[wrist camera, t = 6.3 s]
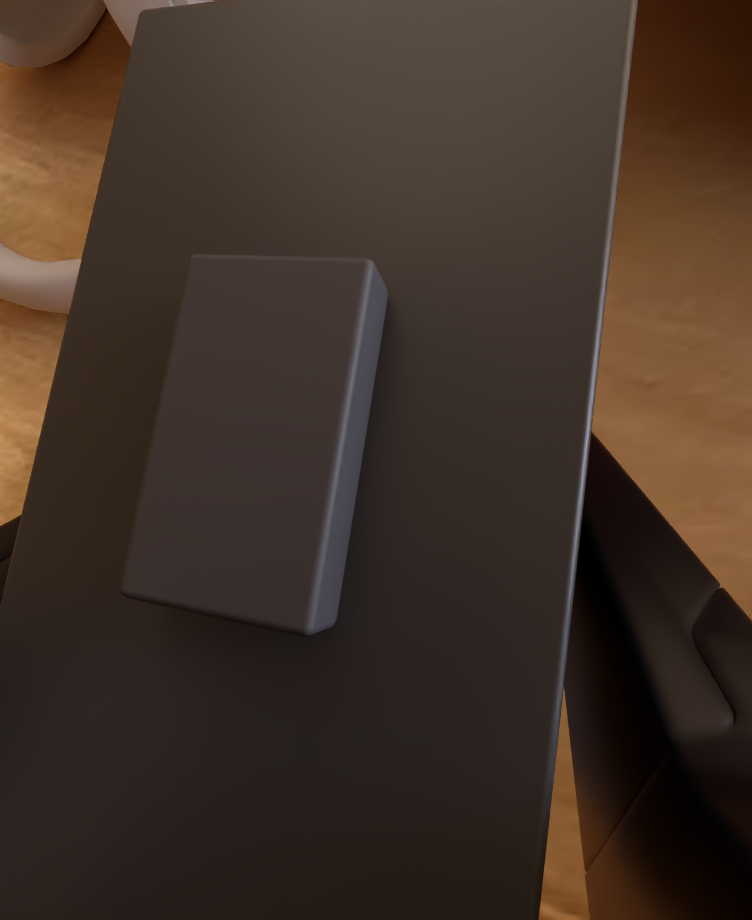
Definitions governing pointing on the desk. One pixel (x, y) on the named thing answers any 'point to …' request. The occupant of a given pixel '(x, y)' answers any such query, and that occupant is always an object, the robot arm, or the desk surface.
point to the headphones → (36, 45)
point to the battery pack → (316, 468)
